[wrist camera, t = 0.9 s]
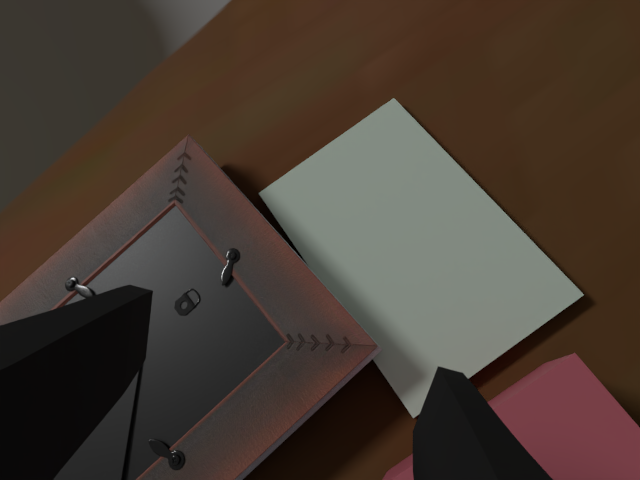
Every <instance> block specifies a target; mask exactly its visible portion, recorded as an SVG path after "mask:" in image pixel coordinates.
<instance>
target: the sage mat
mask: <svg viewBox="0 0 640 480" xmlns="http://www.w3.org/2000/svg"><path fill="white" fill-rule="evenodd" d="M259 195H260V196H261V198H262V199H263V201H264V202H265V204H266V205H267V206H268V208H269V209H270V211H271V212H272V214H273V215H274V217H275V218H276V220H277V221H278V222H279V224H280V225H281V227H282V228H283V230H284V231H285V233H286V234H287V236H288V237H289V238H290V240H291V241H292V243H293V244H294V246H295V247H296V249H297V250H298V252H299V253H300V254H301V256H302V257H303V259H304V260H305V262H306V263H307V265H308V266H309V268H310V269H311V270H312V271H313V272H314V273H315V275H316V276H317V277H318V278H319V279H320V280H321V281H322V282H323V283H324V285H325V286H326V287H327V288H328V289H329V290H330V291H331V292H332V294H333V295H334V296H335V297H336V298H337V299H338V300H339V301H340V302H341V304H342V305H343V306H344V307H345V308H346V309H347V310H348V311H349V313H350V314H351V315H352V316H353V317H354V318H355V319H356V320H357V321H358V323H359V324H360V325H361V326H362V327H363V328H364V329H365V330H366V331H367V333H368V334H369V335H370V336H371V337H372V338H373V339H374V340H375V342H376V343H377V344H378V345H379V346H380V347H381V348H382V351H381V352H379V353H378V354H377V355H376V356H375V357H374V358H373V361H374V362H375V363H376V365H377V366H378V368H379V369H380V371H381V372H382V374H383V375H384V376H385V378H386V379H387V381H388V382H389V384H390V385H391V387H392V388H393V390H394V391H395V392H396V394H397V395H398V397H399V398H400V400H401V401H402V403H403V404H404V406H405V407H406V408H407V410H408V411H409V413H410V414H411V416H412V417H413V418H414V417H416V416H417V415H419V414H420V412H421V409H422V407H423V404H424V401H425V399H426V396H427V394H428V391H429V389H430V386H431V383H432V381H433V378H434V376H435V373H436V370H437V368H438V366H439V367H443V368H447V369H450V370H454V371H458V372H462V373H464V375H465V376H466V377H467V378H470V377H471V376H473V375H474V374H475V373H477V372H478V371H480V370H481V369H482V368H484V367H485V366H486V365H488V364H489V363H491V362H492V361H493V360H495V359H496V358H498V357H499V356H500V355H502V354H503V353H504V352H506V351H507V350H509V349H510V348H511V347H513V346H514V345H516V344H517V343H518V342H520V341H521V340H522V339H524V338H525V337H527V336H528V335H529V334H531V333H532V332H534V331H535V330H536V329H538V328H539V327H540V326H542V325H543V324H545V323H546V322H547V321H549V320H550V319H551V318H553V317H554V316H556V315H557V314H558V313H560V312H561V311H563V310H564V309H565V308H567V307H568V306H569V305H571V304H572V303H574V302H575V301H576V300H578V299H579V298H581V297H582V296H583V295H584V294H583V293H582V292H581V291H580V290H579V289H578V288H577V287H576V286H575V285H574V284H573V283H572V282H571V281H570V280H569V279H568V278H567V277H566V276H565V275H564V273H563V272H562V271H561V270H560V269H559V268H558V267H557V266H556V265H555V264H554V263H553V262H552V261H551V260H550V259H549V258H548V257H547V256H546V255H545V254H544V253H543V252H542V251H541V250H540V249H539V248H538V247H537V246H536V245H535V243H534V242H533V241H532V240H531V239H530V238H529V237H528V236H527V235H526V234H525V233H524V232H523V231H522V230H521V229H520V228H519V227H518V226H517V225H516V224H515V223H514V222H513V221H512V220H511V219H510V218H509V217H508V216H507V214H506V213H505V212H504V211H503V210H502V209H501V208H500V207H499V206H498V205H497V204H496V203H495V202H494V201H493V200H492V199H491V198H490V197H489V196H488V195H487V194H486V193H485V192H484V191H483V190H482V189H481V188H480V187H479V186H478V184H477V183H476V182H475V181H474V180H473V179H472V178H471V177H470V176H469V175H468V174H467V173H466V172H465V171H464V170H463V169H462V168H461V167H460V166H459V165H458V164H457V163H456V162H455V161H454V160H453V159H452V158H451V157H450V156H449V154H448V153H447V152H446V151H445V150H444V149H443V148H442V147H441V146H440V145H439V144H438V143H437V142H436V141H435V140H434V139H433V138H432V137H431V136H430V135H429V134H428V133H427V132H426V131H425V130H424V129H423V128H422V127H421V126H420V124H419V123H418V122H417V121H416V120H415V119H414V118H413V117H412V116H411V115H410V114H409V113H408V112H407V111H406V110H405V109H404V108H403V107H402V106H401V105H400V104H399V103H398V102H397V101H396V100H395V99H394V98H393V99H392V100H390V101H389V102H387V103H386V104H385V105H383V106H382V107H380V108H379V109H378V110H376V111H375V112H373V113H372V114H370V115H369V116H368V117H366V118H365V119H363V120H362V121H360V122H359V123H358V124H356V125H355V126H353V127H352V128H351V129H349V130H348V131H346V132H345V133H343V134H342V135H341V136H339V137H338V138H336V139H335V140H333V141H332V142H331V143H329V144H328V145H326V146H325V147H324V148H322V149H321V150H319V151H318V152H316V153H315V154H314V155H312V156H311V157H309V158H308V159H306V160H305V161H304V162H302V163H301V164H299V165H298V166H297V167H295V168H294V169H292V170H291V171H289V172H288V173H287V174H285V175H284V176H282V177H281V178H279V179H278V180H277V181H275V182H274V183H272V184H271V185H270V186H268V187H267V188H265V189H264V190H262V191H261V192H260V193H259Z"/></svg>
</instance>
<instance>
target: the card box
mask: <svg viewBox="0 0 640 480" xmlns="http://www.w3.org/2000/svg"><path fill="white" fill-rule="evenodd" d="M487 403H488V404H489V405H490V407H491V408H492V409H493V410H494V412H495V413H496V414H497V415H498V417H499V418H500V419H501V420H502V422H503V423H504V424H505V425H506V426H507V428H508V429H509V430H510V431H511V433H512V434H513V435H514V436H515V437H516V439H517V440H518V441H519V442H520V443H521V444H522V446H523V447H524V448H525V449H526V450H527V451H528V453H529V454H530V455H531V456H532V457H533V458H534V459H535V460H536V461H537V463H538V464H539V465H540V466H541V467H542V468H543V469H544V470H545V471H546V472H547V474H548V475H549V476H550V477H551V478H552V479H553V480H640V428H639V426H638V425H637V424H636V423H635V422H634V421H633V419H632V418H631V417H630V416H629V415H628V414H627V412H626V411H625V410H624V409H623V408H622V407H621V406H620V404H619V403H618V402H617V401H616V400H615V399H614V397H613V396H612V395H611V394H610V393H609V392H608V391H607V389H606V388H605V387H604V386H603V385H602V384H601V382H600V381H599V380H598V379H597V378H596V377H595V375H594V374H593V373H592V372H591V371H590V370H589V369H588V367H587V366H586V365H585V364H584V363H583V362H582V360H581V359H580V358H579V357H578V356H577V355H576V354H575V353H574V354H571V355H568V356H565V357H562V358H559V359H556V360H553V361H550V362H547V363H544V364H543V365H541V366H540V367H538V368H537V369H535V370H534V371H532V372H531V373H529V374H528V375H527V376H525V377H524V378H522V379H521V380H519V381H518V382H516V383H515V384H513V385H512V386H510V387H509V388H508V389H506V390H505V391H503V392H502V393H500V394H499V395H497V396H496V397H494V398H493V399H492V400H490V401H489V402H487ZM383 480H414V478H413V454H412V455H410V456H409V457H407V458H406V459H404V460H403V461H401V462H400V463H398V464H397V465H396V466H394V467H393V468H391V469H390V470H388V471H387V473H386V474H385V476H384V478H383Z"/></svg>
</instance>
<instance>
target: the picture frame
mask: <svg viewBox="0 0 640 480" xmlns="http://www.w3.org/2000/svg"><path fill="white" fill-rule="evenodd" d="M126 285H133V286H137V287H141V288H144V289H148V290H152V291H153V296H152V305H151V314H150V323H149V333H148V342H147V351H146V359H145V361H144V363H143V364H142V366H141V368H140V369H139V371H138V372H137V374H136V376H135V377H134V379H133V380H132V382H131V384H130V385H129V387H128V388H127V390H126V391H125V393H124V394H123V395H122V397H121V398H120V399H119V400H118V402H117V403H116V404H115V405H114V406H113V408H112V409H111V410H110V411H109V413H108V414H107V415H106V416H105V417H104V419H103V420H102V421H101V422H100V423H99V425H98V426H97V427H96V428H95V429H94V431H93V432H92V433H91V434H90V435H89V437H88V438H87V439H86V440H85V441H84V443H83V444H82V445H81V446H80V447H79V449H78V450H77V451H76V452H75V453H74V455H73V456H72V457H71V458H70V459H69V461H68V462H67V463H66V464H65V465H64V467H63V468H62V469H61V470H60V472H59V473H58V474H57V475H56V477H55V478H54V479H53V480H243V479H244V478H245V477H246V476H247V475H248V474H249V473H250V472H252V471H253V470H254V469H255V468H256V467H257V466H258V465H259V464H260V463H261V462H262V461H263V460H264V459H266V458H267V457H268V456H269V455H270V454H271V453H272V452H273V451H274V450H275V449H276V448H277V447H278V446H279V445H281V444H282V443H283V442H284V441H285V440H286V439H287V438H288V437H289V436H290V435H291V434H292V433H293V432H295V431H296V430H297V429H298V428H299V427H300V426H301V425H302V424H303V423H304V422H305V421H306V420H307V419H309V418H310V417H311V416H312V415H313V414H314V413H315V412H316V411H317V410H318V409H319V408H320V407H321V406H322V405H324V404H325V403H326V402H327V401H328V400H329V399H330V398H331V397H332V396H333V395H334V394H335V393H336V392H338V391H339V390H340V389H341V388H342V387H343V386H344V385H345V384H346V383H347V382H348V381H349V380H350V379H352V378H353V377H354V376H355V375H356V374H357V373H358V372H359V371H360V370H361V369H362V368H363V367H364V366H365V365H367V364H368V363H369V362H370V361H371V360H372V359H373V358H374V357H375V356H376V355H377V354H378V353H379V352H381V351H382V348H381V347H380V346H379V345H378V344H377V343H376V342H375V340H374V339H373V338H372V337H371V336H370V335H369V334H368V333H367V331H366V330H365V329H364V328H363V327H362V326H361V325H360V324H359V323H358V321H357V320H356V319H355V318H354V317H353V316H352V315H351V314H350V313H349V311H348V310H347V309H346V308H345V307H344V306H343V305H342V304H341V302H340V301H339V300H338V299H337V298H336V297H335V296H334V295H333V294H332V292H331V291H330V290H329V289H328V288H327V287H326V286H325V285H324V283H323V282H322V281H321V280H320V279H319V278H318V277H317V276H316V275H315V273H314V272H313V271H312V270H311V269H310V268H309V267H308V266H307V264H306V263H305V262H304V261H303V260H302V259H301V258H300V257H299V256H298V254H297V253H296V252H295V251H294V250H293V249H292V248H291V247H290V245H289V244H288V243H287V242H286V241H285V240H284V239H283V238H282V237H281V235H280V234H279V233H278V232H277V231H276V230H275V229H274V228H273V227H272V225H271V224H270V223H269V222H268V221H267V220H266V219H265V218H264V216H263V215H262V214H261V213H260V212H259V211H258V210H257V209H256V208H255V206H254V205H253V204H252V203H251V202H250V201H249V200H248V199H247V197H246V196H245V195H244V194H243V193H242V192H241V191H240V190H239V189H238V187H237V186H236V185H235V184H234V183H233V182H232V181H231V180H230V178H229V177H228V176H227V175H226V174H225V173H224V172H223V171H222V170H221V168H220V167H219V166H218V165H217V164H216V163H215V162H214V161H213V160H212V158H211V157H210V156H209V155H208V154H207V153H206V152H205V151H204V149H203V148H202V147H201V146H200V145H199V144H198V143H197V142H196V141H195V140H194V139H193V138H192V137H191V136H190V135H187V136H186V137H185V138H184V139H183V140H182V141H181V142H180V143H178V144H177V145H176V146H175V147H174V148H173V149H172V150H171V151H169V152H168V153H167V154H166V155H165V156H164V157H163V158H162V159H160V160H159V161H158V162H157V163H156V164H155V165H154V166H153V167H151V168H150V169H149V170H148V171H147V172H146V173H145V174H144V175H143V176H141V177H140V178H139V179H138V180H137V181H136V182H135V183H134V184H132V185H131V186H130V187H129V188H128V189H127V190H126V191H125V192H123V193H122V194H121V195H120V196H119V197H118V198H117V199H116V200H114V201H113V202H112V203H111V204H110V205H109V206H108V207H107V208H105V209H104V210H103V211H102V212H101V213H100V214H99V215H98V216H96V217H95V218H94V219H93V220H92V221H91V222H90V223H89V224H88V225H86V226H85V227H84V228H83V229H82V230H81V231H80V232H79V233H77V234H76V235H75V236H74V237H73V238H72V239H71V240H70V241H68V242H67V243H66V244H65V245H64V246H63V247H62V248H61V249H59V250H58V251H57V252H56V253H55V254H54V255H53V256H52V257H50V258H49V259H48V260H47V261H46V262H45V263H44V264H43V265H41V266H40V267H39V268H38V269H37V270H36V271H35V272H34V273H33V274H31V275H30V276H29V277H28V278H27V279H26V280H25V281H24V282H22V283H21V284H20V285H19V286H18V287H17V288H16V289H15V290H13V291H12V292H11V293H10V294H9V295H8V296H7V297H6V298H4V299H3V300H2V301H1V302H0V325H4V324H7V323H10V322H14V321H17V320H20V319H24V318H27V317H30V316H34V315H37V314H40V313H44V312H47V311H50V310H53V309H56V308H59V307H62V306H65V305H68V304H71V303H74V302H77V301H80V300H83V299H86V298H89V297H91V296H94V295H97V294H100V293H103V292H106V291H109V290H112V289H115V288H119V287H122V286H126Z"/></svg>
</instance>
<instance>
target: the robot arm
mask: <svg viewBox="0 0 640 480" xmlns="http://www.w3.org/2000/svg"><path fill="white" fill-rule="evenodd" d="M152 296H153V291H152V290H148V289H144V288H141V287H137V286H133V285H126V286H122V287H119V288H115V289H112V290H109V291H106V292H103V293H100V294H97V295H94V296H91V297H89V298H86V299H83V300H80V301H77V302H74V303H71V304H68V305H65V306H62V307H59V308H56V309H53V310H50V311H47V312H44V313H40V314H37V315H34V316H30V317H27V318H24V319H20V320H17V321H14V322H10V323H7V324H4V325H0V480H53V479H54V478H55V477H56V475H57V474H58V473H59V472H60V470H61V469H62V468H63V467H64V465H65V464H66V463H67V462H68V461H69V459H70V458H71V457H72V456H73V455H74V453H75V452H76V451H77V450H78V449H79V447H80V446H81V445H82V444H83V443H84V441H85V440H86V439H87V438H88V437H89V435H90V434H91V433H92V432H93V431H94V429H95V428H96V427H97V426H98V425H99V423H100V422H101V421H102V420H103V419H104V417H105V416H106V415H107V414H108V413H109V411H110V410H111V409H112V408H113V406H114V405H115V404H116V403H117V402H118V400H119V399H120V398H121V397H122V395H123V394H124V393H125V391H126V390H127V388H128V387H129V385H130V384H131V382H132V380H133V379H134V377H135V376H136V374H137V372H138V371H139V369H140V368H141V366H142V364H143V363H144V361H145V359H146V351H147V342H148V333H149V323H150V314H151V305H152ZM413 478H414V480H553V479H552V478H551V477H550V476H549V475H548V474H547V472H546V471H545V470H544V469H543V468H542V467H541V466H540V465H539V464H538V463H537V461H536V460H535V459H534V458H533V457H532V456H531V455H530V454H529V453H528V451H527V450H526V449H525V448H524V447H523V446H522V444H521V443H520V442H519V441H518V440H517V439H516V437H515V436H514V435H513V434H512V433H511V431H510V430H509V429H508V428H507V426H506V425H505V424H504V423H503V422H502V420H501V419H500V418H499V417H498V415H497V414H496V413H495V412H494V410H493V409H492V408H491V407H490V405H489V404H488V403H487V401H486V400H485V399H484V398H483V396H482V395H481V394H480V393H479V391H478V390H477V389H476V388H475V386H474V385H473V384H472V383H471V381H470V380H469V379H468V378H467V377H466V376H465V375H464V373H462V372H458V371H454V370H450V369H447V368H443V367H439V366H438V368H437V370H436V373H435V376H434V378H433V381H432V383H431V386H430V389H429V391H428V394H427V396H426V399H425V401H424V404H423V407H422V409H421V412H420V414H419V417H418V420H417V422H416V425H415V427H414V430H413Z"/></svg>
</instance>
